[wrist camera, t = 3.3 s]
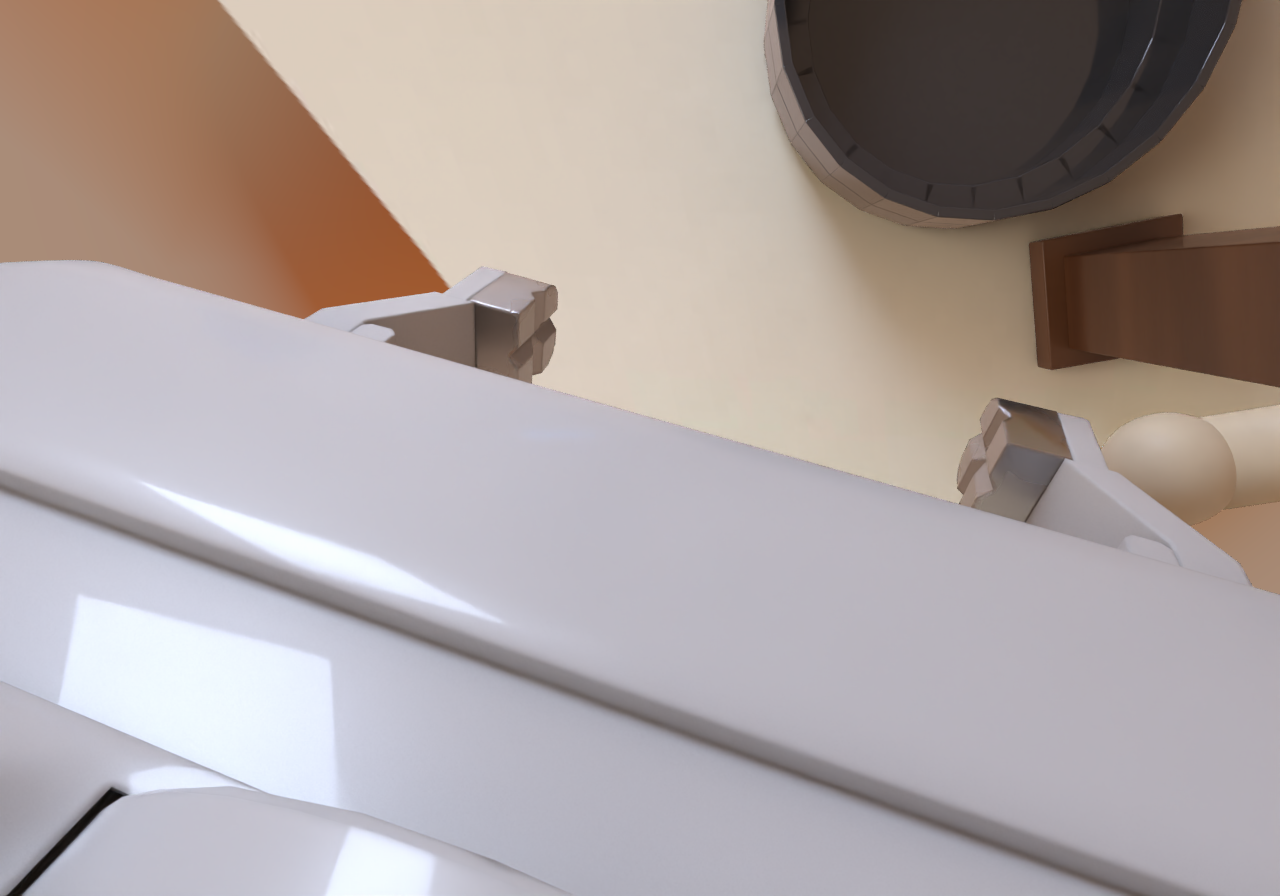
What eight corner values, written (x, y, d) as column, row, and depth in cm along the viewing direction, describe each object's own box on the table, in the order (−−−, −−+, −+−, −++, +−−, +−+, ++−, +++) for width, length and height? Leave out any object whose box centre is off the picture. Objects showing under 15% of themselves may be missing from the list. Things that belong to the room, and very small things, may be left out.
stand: (979, 385, 41) (1470, 569, 15) (967, 244, 39) (1494, 174, 13) (1168, 353, 40) (2063, 491, 14) (1163, 206, 38) (2175, 44, 12)
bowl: (690, 90, 38) (688, 57, 33) (929, -291, 34) (977, -411, 28) (981, 299, 40) (1029, 303, 34) (1251, -41, 35) (1361, -105, 29)
